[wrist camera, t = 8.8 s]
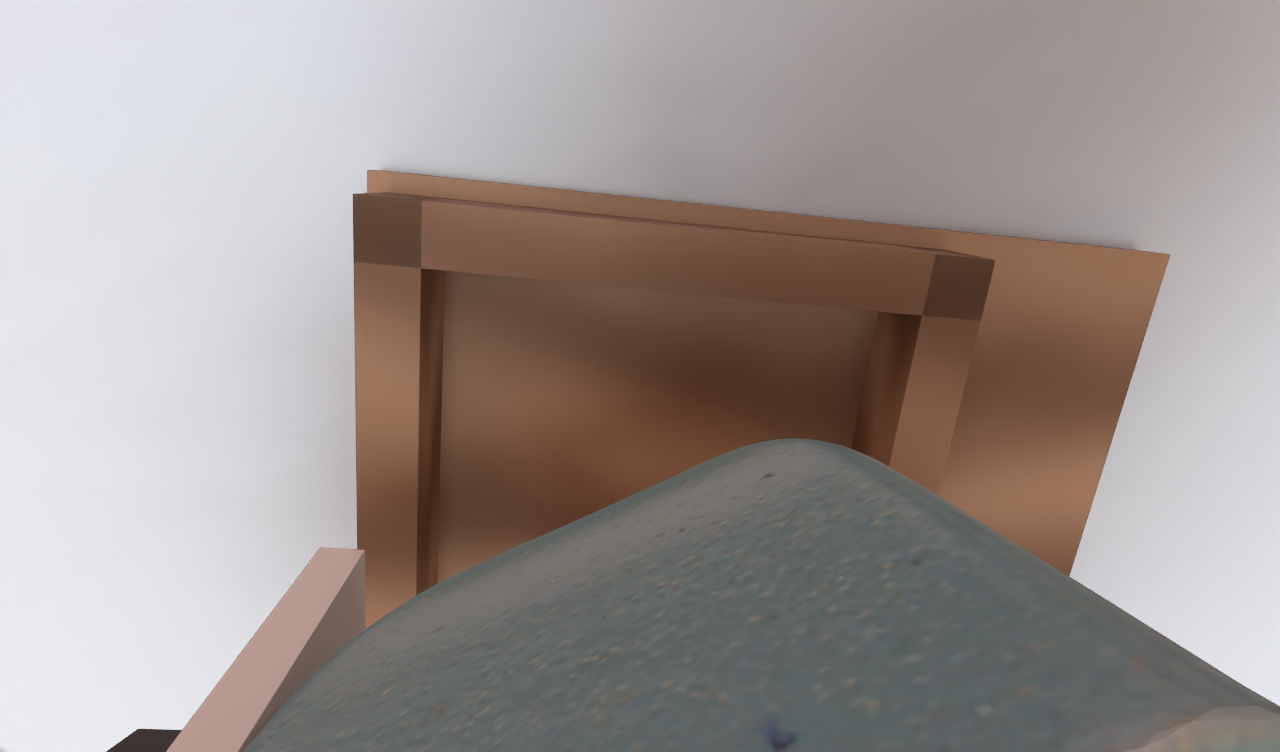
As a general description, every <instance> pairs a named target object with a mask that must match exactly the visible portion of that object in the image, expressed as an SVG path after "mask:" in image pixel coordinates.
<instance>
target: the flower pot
mask: <svg viewBox="0 0 1280 752" xmlns="http://www.w3.org/2000/svg"><path fill="white" fill-rule="evenodd" d="M244 752H1280V706H1278V705H1276V704H1275V703H1273V702H1271V701H1269V700H1268V699H1266V698H1264V697H1262V696H1261V695H1259V694H1257V693H1255V692H1254V691H1252V690H1250V689H1248V688H1247V687H1245V686H1243V685H1242V684H1240V683H1238V682H1237V681H1235V680H1234V679H1232V678H1230V677H1229V676H1227V675H1226V674H1224V673H1222V672H1221V671H1219V670H1218V669H1216V668H1214V667H1213V666H1211V665H1210V664H1208V663H1206V662H1205V661H1203V660H1202V659H1200V658H1198V657H1197V656H1195V655H1194V654H1192V653H1191V652H1189V651H1187V650H1186V649H1184V648H1183V647H1181V646H1179V645H1178V644H1176V643H1175V642H1173V641H1171V640H1170V639H1168V638H1167V637H1165V636H1163V635H1162V634H1160V633H1159V632H1157V631H1155V630H1154V629H1152V628H1151V627H1149V626H1147V625H1146V624H1144V623H1143V622H1141V621H1139V620H1138V619H1136V618H1135V617H1133V616H1132V615H1130V614H1128V613H1127V612H1125V611H1124V610H1122V609H1120V608H1119V607H1117V606H1116V605H1114V604H1112V603H1111V602H1109V601H1108V600H1106V599H1104V598H1103V597H1101V596H1100V595H1098V594H1096V593H1095V592H1093V591H1092V590H1090V589H1088V588H1087V587H1085V586H1083V585H1082V584H1080V583H1079V582H1077V581H1075V580H1074V579H1072V578H1070V577H1069V576H1067V575H1066V574H1064V573H1062V572H1061V571H1059V570H1057V569H1056V568H1054V567H1053V566H1051V565H1049V564H1048V563H1046V562H1044V561H1043V560H1041V559H1040V558H1038V557H1036V556H1035V555H1033V554H1031V553H1030V552H1028V551H1027V550H1025V549H1024V548H1022V547H1020V546H1019V545H1017V544H1016V543H1014V542H1012V541H1011V540H1009V539H1008V538H1006V537H1005V536H1003V535H1001V534H1000V533H998V532H997V531H995V530H993V529H992V528H990V527H989V526H987V525H986V524H984V523H982V522H981V521H979V520H978V519H976V518H974V517H973V516H971V515H970V514H968V513H966V512H965V511H963V510H961V509H960V508H958V507H956V506H955V505H953V504H951V503H950V502H948V501H946V500H945V499H943V498H941V497H940V496H938V495H936V494H935V493H933V492H931V491H930V490H928V489H926V488H925V487H923V486H921V485H920V484H918V483H916V482H915V481H913V480H911V479H909V478H908V477H906V476H904V475H902V474H901V473H899V472H897V471H895V470H894V469H892V468H890V467H889V466H887V465H885V464H883V463H882V462H880V461H878V460H876V459H874V458H871V457H869V456H867V455H865V454H862V453H860V452H858V451H855V450H853V449H850V448H847V447H844V446H841V445H837V444H833V443H828V442H824V441H820V440H813V439H798V438H795V439H792V438H790V439H777V440H770V441H765V442H760V443H756V444H752V445H747V446H744V447H741V448H738V449H735V450H732V451H730V452H727V453H725V454H722V455H720V456H717V457H715V458H713V459H710V460H707V461H705V462H703V463H701V464H698V465H696V466H694V467H692V468H690V469H688V470H686V471H684V472H682V473H679V474H677V475H675V476H673V477H671V478H669V479H667V480H664V481H662V482H660V483H658V484H656V485H653V486H651V487H649V488H647V489H645V490H642V491H640V492H638V493H636V494H634V495H631V496H629V497H627V498H625V499H623V500H620V501H618V502H616V503H614V504H612V505H609V506H607V507H605V508H603V509H600V510H598V511H596V512H594V513H591V514H589V515H587V516H585V517H583V518H580V519H578V520H576V521H574V522H571V523H569V524H567V525H565V526H563V527H560V528H558V529H556V530H554V531H551V532H549V533H547V534H544V535H542V536H540V537H537V538H535V539H533V540H530V541H528V542H526V543H523V544H521V545H519V546H516V547H514V548H512V549H510V550H508V551H505V552H503V553H501V554H499V555H497V556H494V557H492V558H490V559H488V560H486V561H484V562H481V563H479V564H477V565H475V566H473V567H471V568H469V569H467V570H465V571H463V572H460V573H458V574H456V575H454V576H452V577H450V578H448V579H446V580H444V581H442V582H440V583H438V584H436V585H434V586H433V587H431V588H429V589H427V590H425V591H423V592H422V593H420V594H418V595H416V596H415V597H413V598H411V599H410V600H408V601H407V602H405V603H403V604H402V605H400V606H399V607H397V608H395V609H394V610H392V611H391V612H389V613H387V614H386V615H385V616H383V617H382V618H381V619H379V620H378V621H377V622H375V623H374V624H372V625H371V626H370V627H368V628H367V629H366V630H364V631H363V632H362V633H360V634H359V635H358V636H356V637H355V638H354V639H353V640H351V641H350V642H349V643H348V644H346V645H345V646H344V647H343V648H341V649H340V650H339V651H338V652H336V653H335V654H334V655H333V656H332V657H331V658H330V659H329V660H328V661H327V662H326V663H325V664H323V665H322V666H321V667H320V668H319V669H318V670H317V671H316V672H315V673H314V674H313V675H312V676H311V677H310V678H309V679H308V680H307V681H306V682H305V683H304V684H303V685H302V686H300V687H299V688H298V689H297V690H296V691H295V692H294V693H293V694H292V695H291V696H290V698H289V699H288V700H287V701H286V702H285V703H284V705H283V706H282V707H281V708H280V709H279V710H278V712H277V713H276V714H275V715H274V716H273V717H272V718H271V720H270V721H269V722H268V723H267V724H266V725H265V727H264V728H263V729H262V730H261V731H260V732H259V734H258V735H257V736H256V737H255V739H254V740H253V741H252V742H251V743H250V745H249V746H248V747H247V748H246V749H245V751H244Z"/></svg>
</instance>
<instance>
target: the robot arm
mask: <svg viewBox="0 0 1280 752" xmlns="http://www.w3.org/2000/svg"><path fill="white" fill-rule="evenodd" d="M364 630H365V550H356V549H339V548H321V547H320V548H319V550H318V551H317V552H316V554H315V555H314V556H313V558H312V559H311V560H310V562H309V563H308V564H307V566H306V567H305V568H304V570H303V571H302V572H301V573H300V575H299V576H298V577H297V579H296V580H295V581H294V583H293V584H292V585H291V587H290V588H289V589H288V591H287V592H286V593H285V595H284V596H283V597H282V599H281V600H280V601H279V603H278V604H277V605H276V607H275V608H274V609H273V611H272V612H271V613H270V615H269V616H268V617H267V618H266V620H265V621H264V622H263V624H262V625H261V626H260V628H259V629H258V630H257V632H256V633H255V634H254V636H253V637H252V638H251V640H250V641H249V642H248V644H247V645H246V646H245V648H244V649H243V650H242V652H241V653H240V654H239V656H238V657H237V658H236V660H235V661H234V662H233V664H232V665H231V666H230V667H229V669H228V670H227V671H226V673H225V674H224V675H223V677H222V678H221V679H220V681H219V682H218V683H217V685H216V686H215V687H214V689H213V690H212V691H211V693H210V694H209V695H208V697H207V698H206V699H205V701H204V702H203V703H202V705H201V706H200V707H199V709H198V710H197V711H196V713H195V714H194V715H193V716H192V718H191V719H190V720H189V722H188V723H187V724H186V726H185V727H184V728H183V730H158V729H137V730H136V731H135V732H133V733H132V734H130V735H129V736H128V737H126V738H125V739H123V740H122V741H121V742H119V743H118V744H116V745H115V746H114V747H112V748H111V749H109V750H108V751H107V752H244V751H245V749H246V748H247V747H248V746H249V745H250V743H251V742H252V741H253V740H254V739H255V737H256V736H257V735H258V734H259V732H260V731H261V730H262V729H263V728H264V727H265V725H266V724H267V723H268V722H269V721H270V720H271V718H272V717H273V716H274V715H275V714H276V713H277V712H278V710H279V709H280V708H281V707H282V706H283V705H284V703H285V702H286V701H287V700H288V699H289V698H290V696H291V695H292V694H293V693H294V692H295V691H296V690H297V689H298V688H299V687H300V686H302V685H303V684H304V683H305V682H306V681H307V680H308V679H309V678H310V677H311V676H312V675H313V674H314V673H315V672H316V671H317V670H318V669H319V668H320V667H321V666H322V665H323V664H325V663H326V662H327V661H328V660H329V659H330V658H331V657H332V656H333V655H334V654H335V653H336V652H338V651H339V650H340V649H341V648H343V647H344V646H345V645H346V644H348V643H349V642H350V641H351V640H353V639H354V638H355V637H356V636H358V635H359V634H360V633H362V632H363V631H364Z"/></svg>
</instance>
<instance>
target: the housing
mask: <svg viewBox="0 0 1280 752" xmlns="http://www.w3.org/2000/svg"><path fill="white" fill-rule="evenodd" d="M353 239H354V318H355V396H356V475H357V550H365V630H366V629H367V628H368V627H370V626H371V625H372V624H374V623H375V622H377V621H378V620H379V619H381V618H382V617H383V616H385V615H386V614H387V613H389V612H391V611H392V610H394V609H395V608H397V607H399V606H400V605H402V604H403V603H405V602H407V601H408V600H410V599H411V598H413V597H415V596H416V595H418V594H420V593H422V592H423V591H425V590H427V589H429V588H431V587H433V586H434V585H436V584H438V583H440V582H442V581H444V580H446V579H448V578H450V577H452V576H454V575H456V574H458V573H460V572H463V571H465V570H467V569H469V568H471V567H473V566H475V565H477V564H479V563H481V562H484V561H486V560H488V559H490V558H492V557H494V556H497V555H499V554H501V553H503V552H505V551H508V550H510V549H512V548H514V547H516V546H519V545H521V544H523V543H526V542H528V541H530V540H533V539H535V538H537V537H540V536H542V535H544V534H547V533H549V532H551V531H554V530H556V529H558V528H560V527H563V526H565V525H567V524H569V523H571V522H574V521H576V520H578V519H580V518H583V517H585V516H587V515H589V514H591V513H594V512H596V511H598V510H600V509H603V508H605V507H607V506H609V505H612V504H614V503H616V502H618V501H620V500H623V499H625V498H627V497H629V496H631V495H634V494H636V493H638V492H640V491H642V490H645V489H647V488H649V487H651V486H653V485H656V484H658V483H660V482H662V481H664V480H667V479H669V478H671V477H673V476H675V475H677V474H679V473H682V472H684V471H686V470H688V469H690V468H692V467H694V466H696V465H698V464H701V463H703V462H705V461H707V460H710V459H713V458H715V457H717V456H720V455H722V454H725V453H727V452H730V451H732V450H735V449H738V448H741V447H744V446H747V445H752V444H756V443H760V442H765V441H770V440H777V439H790V438H792V439H795V438H798V439H813V440H820V441H824V442H828V443H833V444H837V445H841V446H844V447H847V448H850V449H853V450H855V451H858V452H860V453H862V454H865V455H867V456H869V457H871V458H874V459H876V460H878V461H880V462H882V463H883V464H885V465H887V466H889V467H890V468H892V469H894V470H895V471H897V472H899V473H901V474H902V475H904V476H906V477H908V478H909V479H911V480H913V481H915V482H916V483H918V484H920V485H921V486H923V487H925V488H926V489H928V490H930V491H931V492H933V493H935V494H936V495H938V496H940V497H941V498H943V499H945V500H946V501H948V502H950V503H951V504H953V505H955V506H956V507H958V508H960V509H961V510H963V511H965V512H966V513H968V514H970V515H971V516H973V517H974V518H976V519H978V520H979V521H981V522H982V523H984V524H986V525H987V526H989V527H990V528H992V529H993V530H995V531H997V532H998V533H1000V534H1001V535H1003V536H1005V537H1006V538H1008V539H1009V540H1011V541H1012V542H1014V543H1016V544H1017V545H1019V546H1020V547H1022V548H1024V549H1025V550H1027V551H1028V552H1030V553H1031V554H1033V555H1035V556H1036V557H1038V558H1040V559H1041V560H1043V561H1044V562H1046V563H1048V564H1049V565H1051V566H1053V567H1054V568H1056V569H1057V570H1059V571H1061V572H1062V573H1064V574H1066V575H1067V576H1069V575H1070V572H1071V569H1072V566H1073V562H1074V559H1075V556H1076V553H1077V550H1078V547H1079V543H1080V540H1081V537H1082V534H1083V531H1084V527H1085V524H1086V521H1087V518H1088V515H1089V512H1090V508H1091V505H1092V502H1093V499H1094V496H1095V492H1096V489H1097V486H1098V483H1099V480H1100V477H1101V473H1102V470H1103V467H1104V464H1105V461H1106V457H1107V454H1108V451H1109V448H1110V445H1111V442H1112V438H1113V435H1114V432H1115V429H1116V426H1117V422H1118V419H1119V416H1120V413H1121V410H1122V407H1123V403H1124V400H1125V397H1126V394H1127V391H1128V387H1129V384H1130V381H1131V378H1132V375H1133V372H1134V368H1135V365H1136V362H1137V359H1138V356H1139V352H1140V349H1141V346H1142V343H1143V340H1144V337H1145V333H1146V330H1147V327H1148V324H1149V321H1150V317H1151V314H1152V311H1153V308H1154V305H1155V302H1156V298H1157V295H1158V292H1159V289H1160V286H1161V282H1162V279H1163V276H1164V273H1165V270H1166V267H1167V263H1168V260H1169V257H1170V254H1162V253H1154V252H1147V251H1139V250H1130V249H1120V248H1111V247H1101V246H1092V245H1082V244H1073V243H1063V242H1054V241H1044V240H1035V239H1026V238H1016V237H1007V236H997V235H988V234H978V233H969V232H959V231H950V230H940V229H931V228H921V227H912V226H902V225H893V224H883V223H874V222H864V221H855V220H846V219H836V218H827V217H817V216H808V215H798V214H789V213H779V212H770V211H760V210H751V209H741V208H732V207H722V206H713V205H703V204H694V203H684V202H675V201H666V200H656V199H647V198H637V197H628V196H618V195H609V194H599V193H590V192H580V191H571V190H561V189H552V188H542V187H533V186H523V185H514V184H504V183H495V182H486V181H476V180H467V179H457V178H448V177H438V176H429V175H419V174H410V173H400V172H391V171H380V170H367V193H364V194H353Z"/></svg>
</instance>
